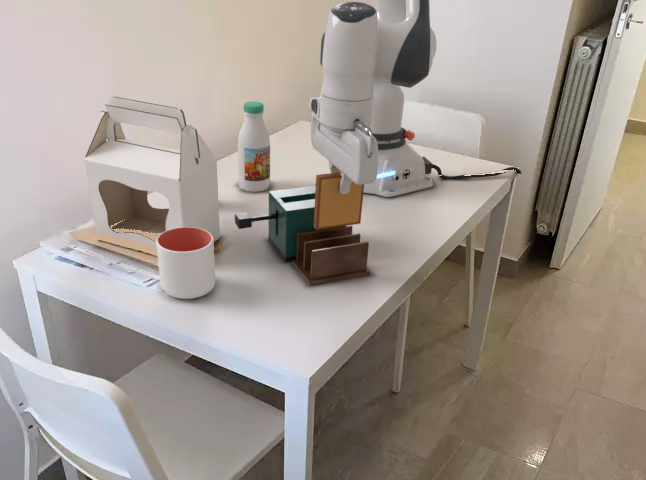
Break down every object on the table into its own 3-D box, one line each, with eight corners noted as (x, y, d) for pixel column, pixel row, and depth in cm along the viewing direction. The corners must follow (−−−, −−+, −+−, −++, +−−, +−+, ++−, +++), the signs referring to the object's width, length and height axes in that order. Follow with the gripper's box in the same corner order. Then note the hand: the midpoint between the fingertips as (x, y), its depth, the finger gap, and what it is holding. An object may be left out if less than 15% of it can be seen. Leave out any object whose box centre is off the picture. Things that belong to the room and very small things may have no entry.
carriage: (239, 229, 128) (239, 219, 127) (234, 223, 130) (234, 213, 129) (332, 215, 135) (333, 206, 133) (326, 210, 137) (327, 201, 136)
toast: (357, 220, 125) (362, 169, 119) (360, 223, 124) (365, 172, 118) (313, 226, 122) (316, 174, 116) (316, 230, 121) (319, 177, 115)
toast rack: (350, 254, 136) (352, 223, 132) (370, 274, 129) (373, 243, 125) (292, 263, 132) (293, 232, 128) (309, 285, 125) (310, 253, 121)
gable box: (95, 240, 137) (73, 102, 121) (134, 216, 147) (118, 85, 131) (187, 265, 130) (176, 121, 114) (221, 238, 140) (216, 102, 124)
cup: (163, 274, 126) (159, 226, 121) (216, 274, 127) (214, 226, 121) (158, 302, 118) (152, 252, 113) (214, 301, 119) (212, 252, 113)
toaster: (285, 262, 132) (286, 211, 126) (267, 238, 140) (267, 189, 134) (344, 252, 136) (348, 202, 130) (323, 230, 144) (326, 182, 138)
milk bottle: (233, 189, 161) (231, 105, 150) (245, 178, 167) (244, 97, 156) (263, 194, 159) (263, 110, 148) (274, 183, 165) (275, 101, 154)
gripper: (391, 129, 104) (382, 210, 112) (338, 94, 120) (333, 168, 128) (355, 132, 102) (348, 215, 110) (305, 96, 118) (302, 171, 126)
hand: (340, 189), depth 119 cm, fingers closed on toast, 1 cm apart
